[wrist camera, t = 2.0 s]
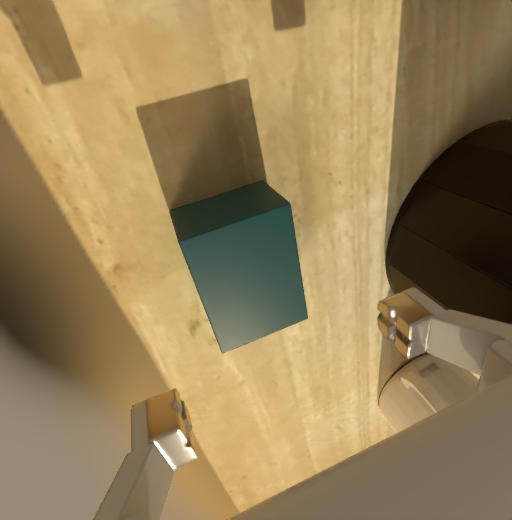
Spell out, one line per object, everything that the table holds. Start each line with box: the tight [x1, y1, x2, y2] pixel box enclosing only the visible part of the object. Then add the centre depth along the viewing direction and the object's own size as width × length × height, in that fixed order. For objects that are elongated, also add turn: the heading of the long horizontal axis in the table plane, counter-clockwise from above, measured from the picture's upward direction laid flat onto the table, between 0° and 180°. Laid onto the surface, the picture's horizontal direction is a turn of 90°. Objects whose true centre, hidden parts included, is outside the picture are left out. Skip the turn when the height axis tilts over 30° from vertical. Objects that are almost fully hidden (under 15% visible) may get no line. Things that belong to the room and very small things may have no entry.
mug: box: [379, 354, 479, 433], centre depth 28 cm, size 12×9×9 cm
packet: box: [169, 181, 308, 353], centre depth 17 cm, size 7×5×4 cm
